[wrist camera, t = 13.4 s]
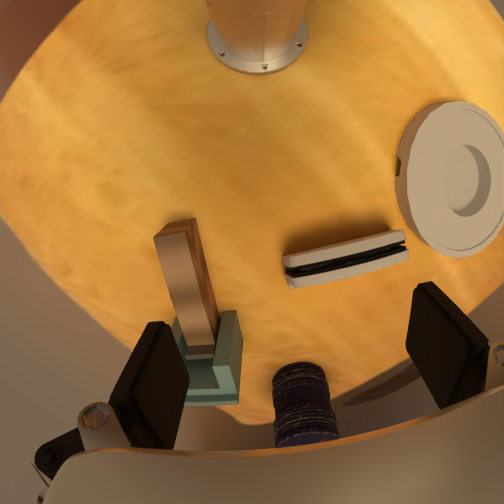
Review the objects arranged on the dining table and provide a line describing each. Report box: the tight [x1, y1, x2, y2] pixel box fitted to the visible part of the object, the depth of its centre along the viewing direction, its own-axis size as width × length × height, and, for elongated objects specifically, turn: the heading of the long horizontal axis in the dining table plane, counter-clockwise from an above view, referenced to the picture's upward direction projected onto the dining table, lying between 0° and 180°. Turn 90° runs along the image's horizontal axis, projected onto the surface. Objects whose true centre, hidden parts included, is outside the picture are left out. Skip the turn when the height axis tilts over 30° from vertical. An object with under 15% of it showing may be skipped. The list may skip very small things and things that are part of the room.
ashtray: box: [395, 101, 504, 258], centre depth 33 cm, size 23×23×4 cm
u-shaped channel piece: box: [171, 310, 243, 406], centre depth 38 cm, size 6×10×13 cm, turn 99°
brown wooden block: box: [153, 219, 221, 360], centre depth 37 cm, size 17×4×8 cm, turn 9°
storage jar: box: [272, 362, 340, 448], centre depth 41 cm, size 10×10×15 cm
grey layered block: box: [282, 230, 409, 289], centre depth 35 cm, size 17×5×10 cm, turn 104°
